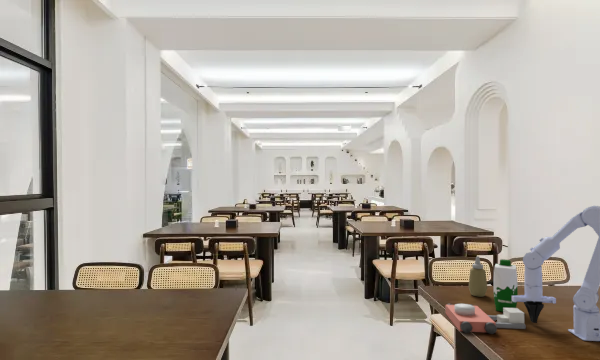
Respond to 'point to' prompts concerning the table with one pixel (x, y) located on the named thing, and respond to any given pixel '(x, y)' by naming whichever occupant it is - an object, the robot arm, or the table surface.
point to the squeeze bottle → (477, 279)
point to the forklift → (476, 319)
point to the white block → (511, 316)
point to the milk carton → (505, 285)
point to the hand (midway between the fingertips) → (533, 322)
